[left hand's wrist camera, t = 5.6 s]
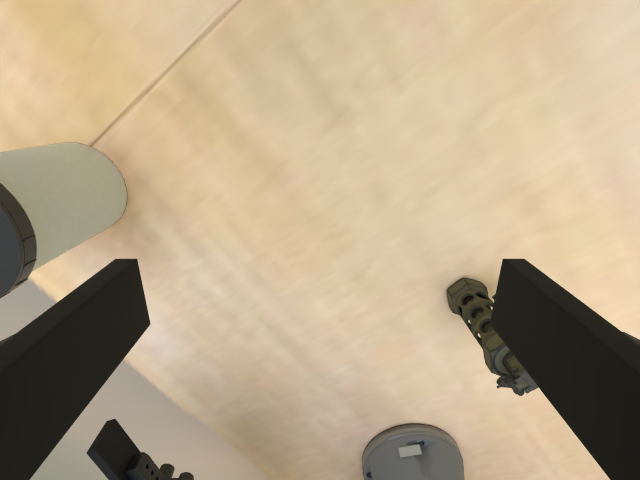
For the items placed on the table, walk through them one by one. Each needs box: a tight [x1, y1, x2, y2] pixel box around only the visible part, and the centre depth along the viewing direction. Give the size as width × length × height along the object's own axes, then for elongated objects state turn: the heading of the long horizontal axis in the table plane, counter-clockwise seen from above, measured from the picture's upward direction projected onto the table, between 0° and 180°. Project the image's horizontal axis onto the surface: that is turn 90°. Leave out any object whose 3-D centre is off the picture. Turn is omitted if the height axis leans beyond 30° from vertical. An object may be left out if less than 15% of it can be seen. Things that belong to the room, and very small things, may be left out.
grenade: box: [447, 278, 538, 396], centre depth 37 cm, size 9×6×15 cm, turn 134°
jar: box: [0, 142, 127, 271], centre depth 33 cm, size 10×10×16 cm
